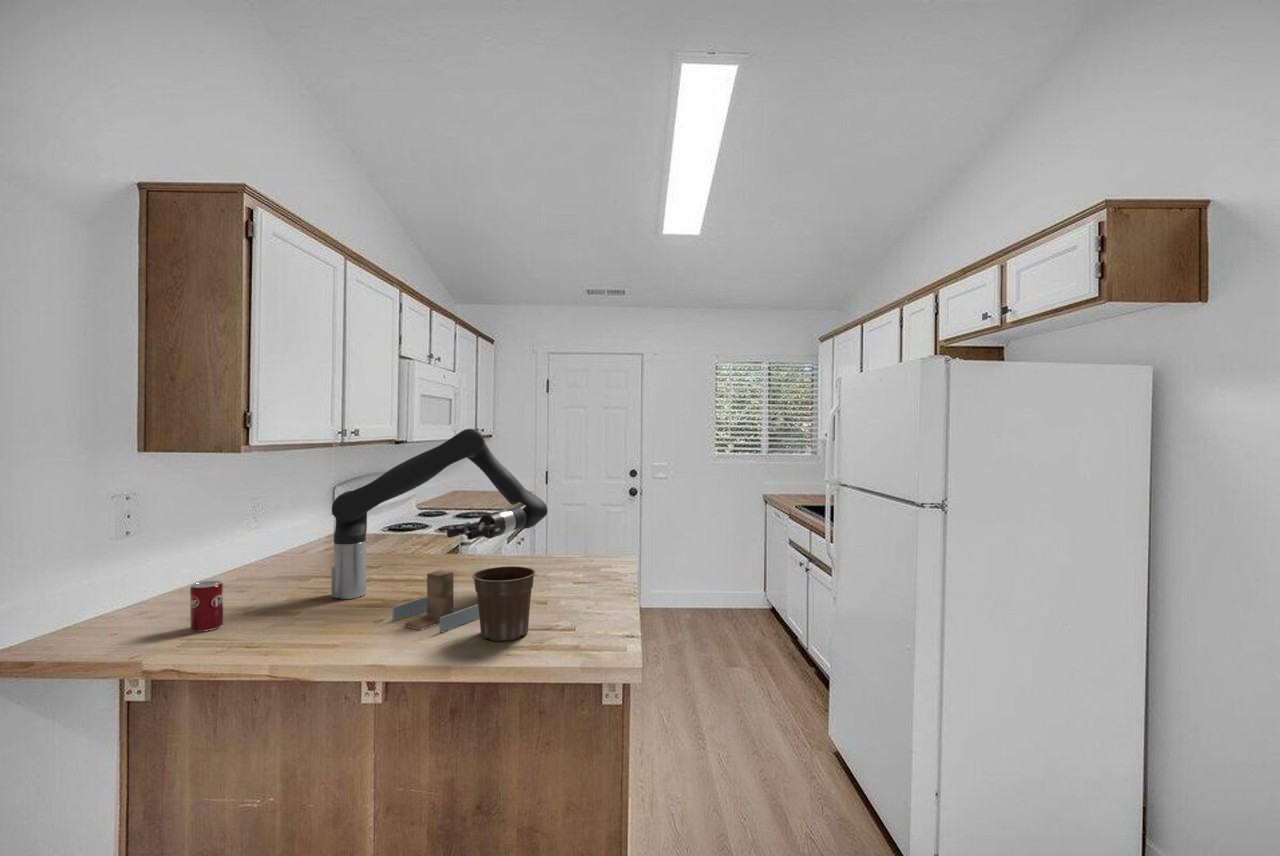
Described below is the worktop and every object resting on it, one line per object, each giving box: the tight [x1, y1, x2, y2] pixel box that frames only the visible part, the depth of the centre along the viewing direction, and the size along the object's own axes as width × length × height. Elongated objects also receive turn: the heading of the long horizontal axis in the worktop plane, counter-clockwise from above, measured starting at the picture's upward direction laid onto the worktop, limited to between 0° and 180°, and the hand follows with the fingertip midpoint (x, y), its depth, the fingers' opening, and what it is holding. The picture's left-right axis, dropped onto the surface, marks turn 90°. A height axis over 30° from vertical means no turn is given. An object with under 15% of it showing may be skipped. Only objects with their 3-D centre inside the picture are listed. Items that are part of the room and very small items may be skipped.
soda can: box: [189, 580, 224, 632], centre depth 166 cm, size 7×7×12 cm
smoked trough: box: [392, 596, 479, 633], centre depth 174 cm, size 16×19×4 cm
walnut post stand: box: [405, 569, 455, 629], centre depth 171 cm, size 12×6×13 cm, turn 150°
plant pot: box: [472, 565, 536, 642], centre depth 162 cm, size 16×16×16 cm
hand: (457, 535), depth 180 cm, fingers open, 8 cm apart
